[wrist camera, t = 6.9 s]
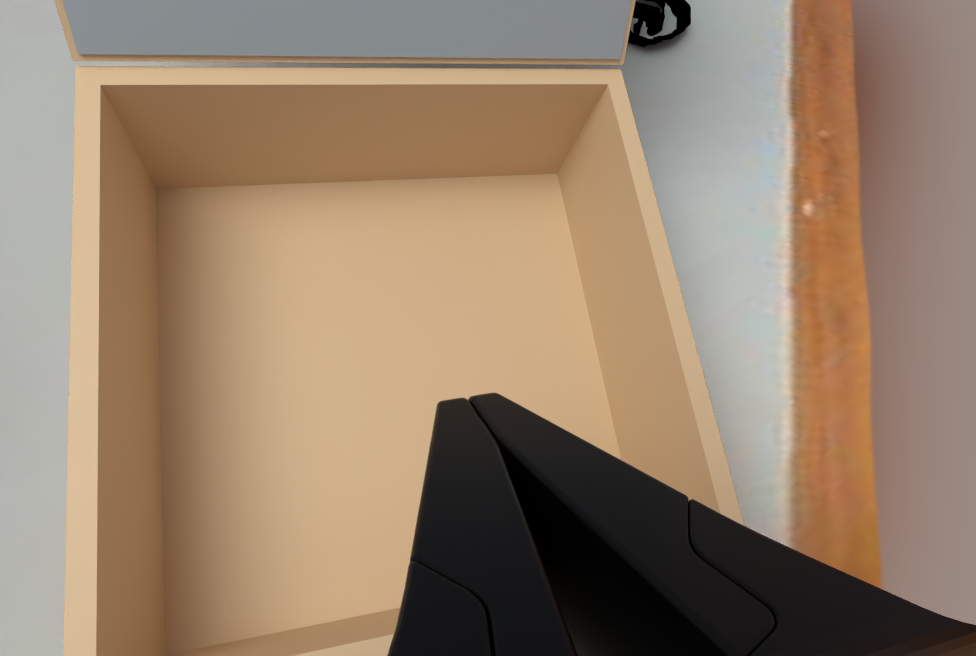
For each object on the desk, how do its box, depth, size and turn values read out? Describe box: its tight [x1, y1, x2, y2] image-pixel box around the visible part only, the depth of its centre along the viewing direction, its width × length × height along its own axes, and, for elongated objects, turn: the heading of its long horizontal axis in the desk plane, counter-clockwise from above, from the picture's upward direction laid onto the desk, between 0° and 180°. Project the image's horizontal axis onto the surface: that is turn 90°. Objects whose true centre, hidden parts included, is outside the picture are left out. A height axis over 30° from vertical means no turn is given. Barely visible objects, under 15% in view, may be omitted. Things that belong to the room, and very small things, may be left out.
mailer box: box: [63, 66, 744, 656], centre depth 20 cm, size 16×16×6 cm
